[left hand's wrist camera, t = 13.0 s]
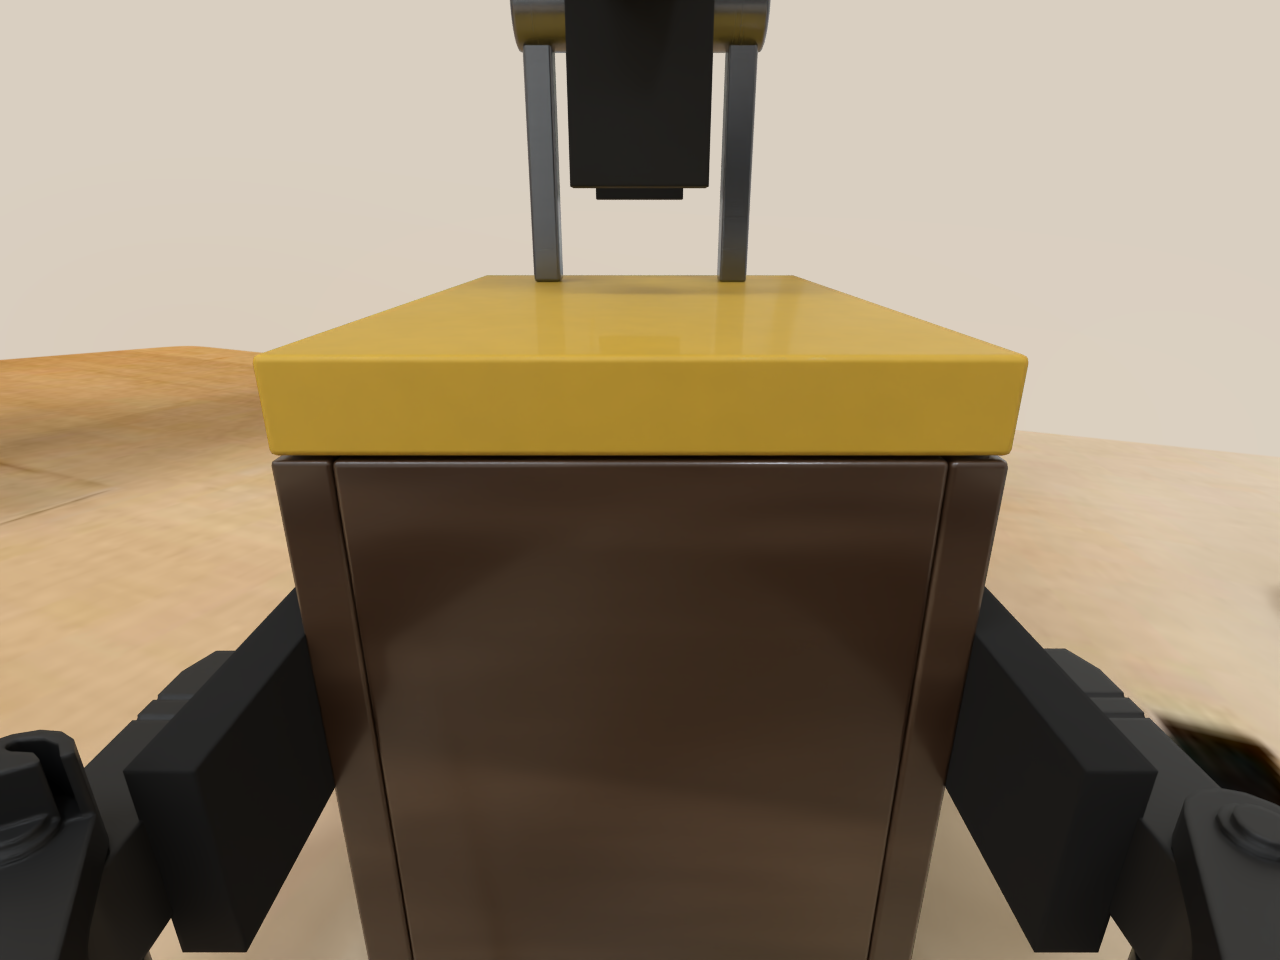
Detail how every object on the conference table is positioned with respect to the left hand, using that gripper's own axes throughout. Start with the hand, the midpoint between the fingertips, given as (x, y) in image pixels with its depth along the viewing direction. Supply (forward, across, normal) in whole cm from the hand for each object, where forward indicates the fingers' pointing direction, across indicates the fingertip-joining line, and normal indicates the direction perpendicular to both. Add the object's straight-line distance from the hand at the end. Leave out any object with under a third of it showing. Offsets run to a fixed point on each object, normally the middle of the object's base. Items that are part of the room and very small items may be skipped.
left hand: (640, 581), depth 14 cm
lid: (+3, 0, +4) cm, 5 cm away
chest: (+2, 0, -7) cm, 7 cm away
